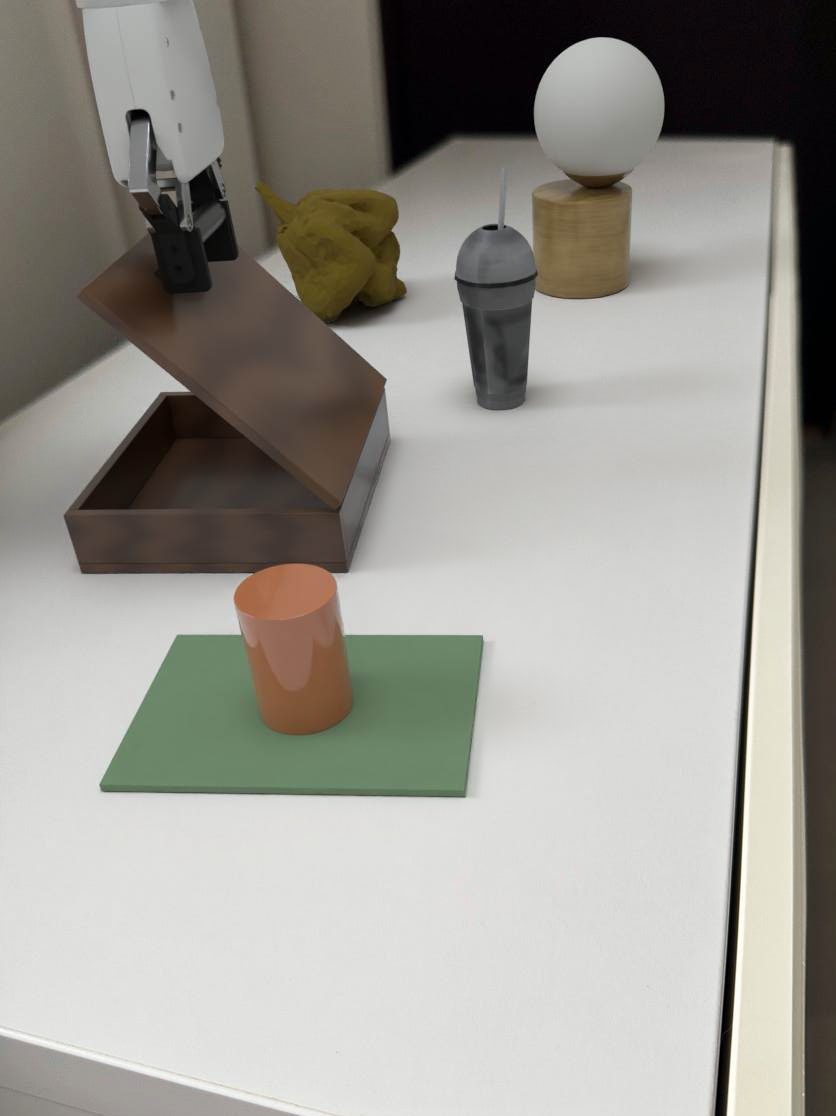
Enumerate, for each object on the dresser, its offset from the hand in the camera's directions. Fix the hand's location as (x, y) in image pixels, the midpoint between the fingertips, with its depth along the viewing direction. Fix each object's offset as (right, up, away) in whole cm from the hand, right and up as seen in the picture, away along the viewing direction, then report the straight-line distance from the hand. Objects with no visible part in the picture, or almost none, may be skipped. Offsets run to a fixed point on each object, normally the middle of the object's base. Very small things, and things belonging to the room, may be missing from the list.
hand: (203, 272), depth 74 cm
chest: (+1, -15, +10) cm, 18 cm away
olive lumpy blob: (+3, +12, +48) cm, 49 cm away
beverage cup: (+21, -4, +24) cm, 32 cm away
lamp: (+33, +17, +52) cm, 63 cm away
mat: (+9, -30, -11) cm, 33 cm away
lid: (+3, -5, +3) cm, 6 cm away
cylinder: (+9, -29, -12) cm, 33 cm away
